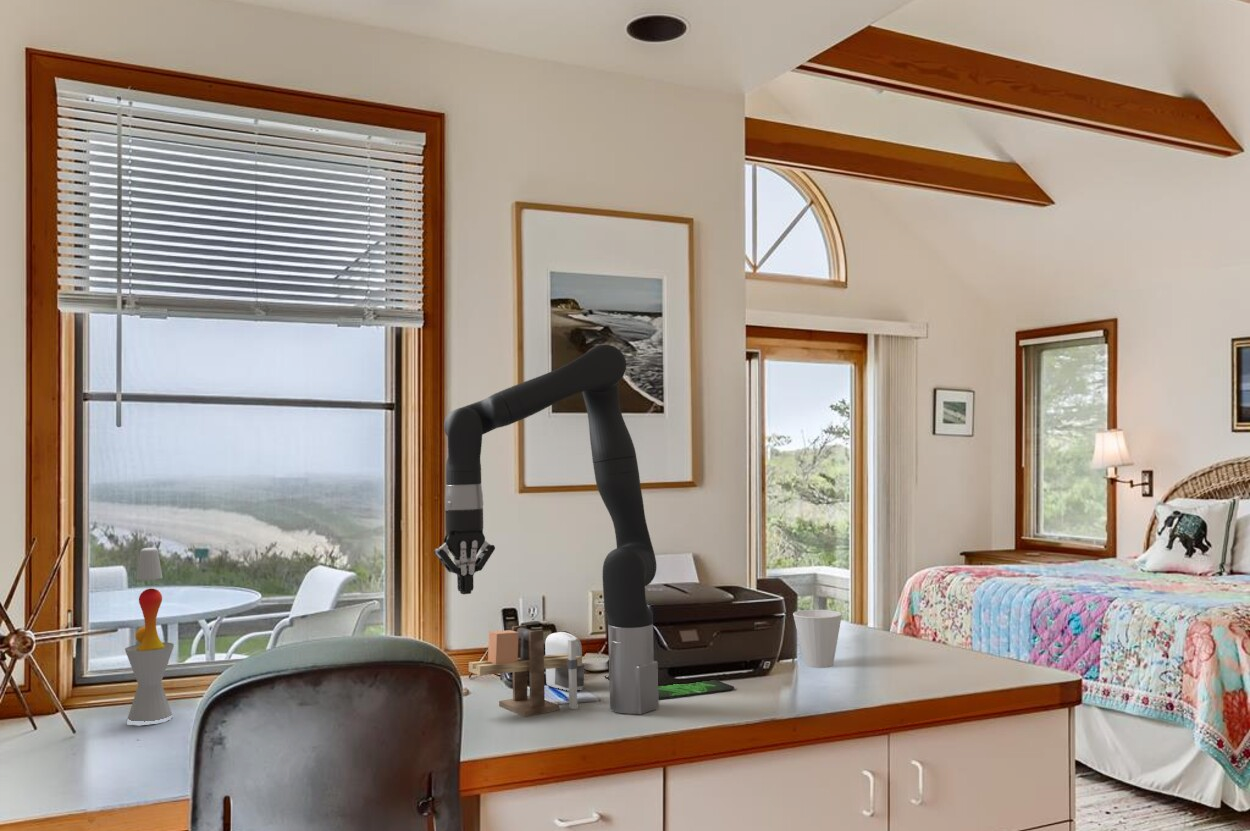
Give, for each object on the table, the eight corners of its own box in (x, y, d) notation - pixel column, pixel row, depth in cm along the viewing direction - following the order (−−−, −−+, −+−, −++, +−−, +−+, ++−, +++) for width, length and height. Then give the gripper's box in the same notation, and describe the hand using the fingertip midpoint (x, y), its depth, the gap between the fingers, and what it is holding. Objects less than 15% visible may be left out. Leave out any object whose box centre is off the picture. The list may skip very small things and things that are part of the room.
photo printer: (543, 685, 224) (542, 631, 225) (558, 682, 227) (557, 628, 227) (569, 693, 216) (568, 636, 217) (585, 690, 219) (584, 634, 219)
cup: (784, 662, 243) (783, 612, 243) (824, 657, 248) (822, 607, 248) (813, 672, 232) (811, 619, 232) (854, 666, 237) (852, 614, 237)
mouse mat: (600, 677, 233) (600, 673, 233) (684, 668, 241) (684, 663, 241) (646, 703, 208) (646, 698, 208) (738, 692, 216) (738, 687, 216)
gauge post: (574, 706, 205) (573, 639, 205) (578, 708, 204) (576, 640, 204) (568, 708, 204) (566, 639, 204) (572, 709, 203) (570, 640, 203)
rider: (509, 663, 205) (510, 630, 205) (517, 666, 202) (518, 632, 202) (487, 665, 202) (489, 631, 202) (495, 668, 199) (496, 633, 199)
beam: (570, 681, 214) (572, 623, 215) (585, 686, 210) (586, 627, 210) (466, 692, 200) (469, 631, 201) (479, 698, 195) (482, 635, 196)
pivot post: (532, 699, 212) (531, 622, 212) (559, 710, 203) (557, 629, 203) (499, 705, 207) (497, 627, 208) (524, 716, 198) (523, 634, 199)
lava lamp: (183, 717, 203) (182, 547, 204) (142, 728, 195) (142, 551, 197) (156, 712, 208) (155, 545, 209) (115, 723, 200) (115, 549, 201)
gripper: (485, 504, 205) (486, 588, 205) (425, 508, 198) (427, 595, 197) (502, 506, 199) (503, 592, 198) (441, 509, 191) (443, 599, 191)
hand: (465, 593), depth 198 cm, fingers closed
